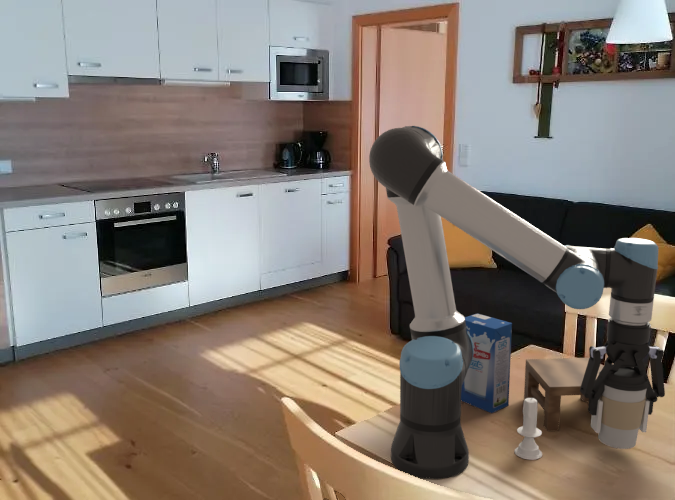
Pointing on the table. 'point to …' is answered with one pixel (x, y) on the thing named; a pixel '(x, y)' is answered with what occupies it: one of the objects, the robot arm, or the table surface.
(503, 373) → the milk carton
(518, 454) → the candle
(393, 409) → the table surface
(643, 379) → the coffee cup
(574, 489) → the table surface
